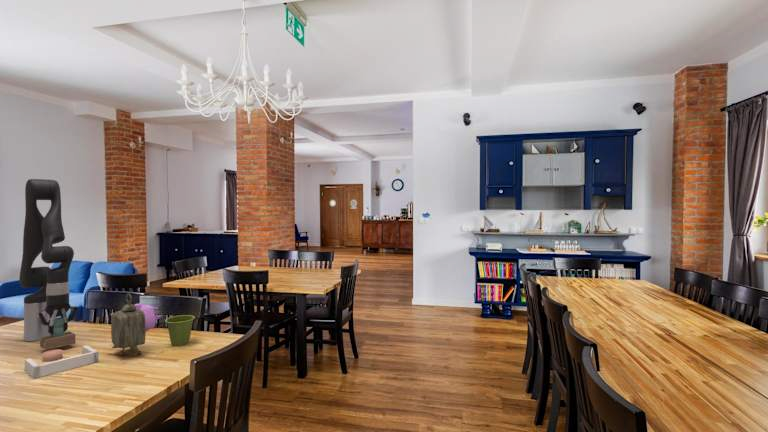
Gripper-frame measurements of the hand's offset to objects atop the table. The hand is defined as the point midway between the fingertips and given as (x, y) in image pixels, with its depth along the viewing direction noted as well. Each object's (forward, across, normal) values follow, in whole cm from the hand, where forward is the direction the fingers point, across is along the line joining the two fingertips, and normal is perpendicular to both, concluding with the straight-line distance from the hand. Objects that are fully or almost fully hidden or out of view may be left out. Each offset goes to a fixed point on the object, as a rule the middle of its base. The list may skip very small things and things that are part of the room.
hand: (57, 332), depth 164 cm
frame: (+7, +5, +24) cm, 26 cm away
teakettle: (+7, -33, -5) cm, 34 cm away
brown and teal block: (+5, 0, 0) cm, 5 cm away
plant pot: (+7, -33, +36) cm, 50 cm away
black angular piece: (+8, -18, +15) cm, 25 cm away
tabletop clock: (+7, -14, +30) cm, 35 cm away
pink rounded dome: (+7, +5, +12) cm, 15 cm away
